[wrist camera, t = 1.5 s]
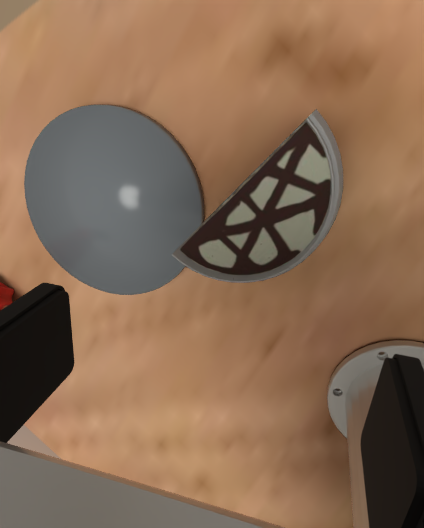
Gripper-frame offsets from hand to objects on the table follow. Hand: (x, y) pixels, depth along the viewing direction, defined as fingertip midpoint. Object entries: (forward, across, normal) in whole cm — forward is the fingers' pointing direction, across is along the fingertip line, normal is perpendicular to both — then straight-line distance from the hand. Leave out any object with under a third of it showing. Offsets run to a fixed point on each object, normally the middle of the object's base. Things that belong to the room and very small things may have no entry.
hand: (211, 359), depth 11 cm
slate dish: (+23, +15, +3) cm, 27 cm away
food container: (+23, 0, 0) cm, 23 cm away
